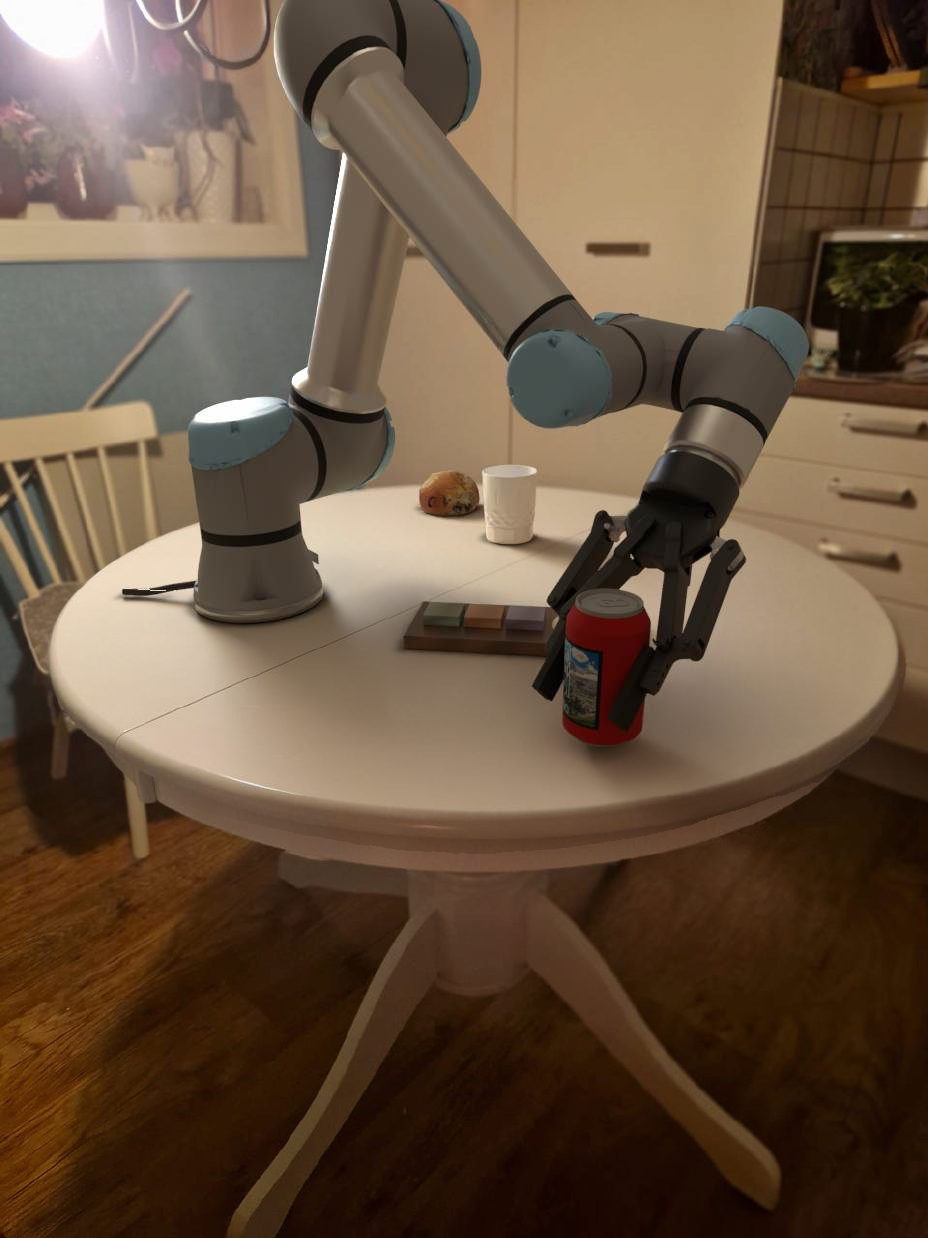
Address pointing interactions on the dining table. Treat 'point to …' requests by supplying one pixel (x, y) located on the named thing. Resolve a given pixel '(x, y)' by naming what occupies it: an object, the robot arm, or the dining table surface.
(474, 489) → the bread roll
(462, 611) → the paint palette tray
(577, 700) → the beverage can
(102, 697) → the dining table surface
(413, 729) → the dining table surface
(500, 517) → the white cup
